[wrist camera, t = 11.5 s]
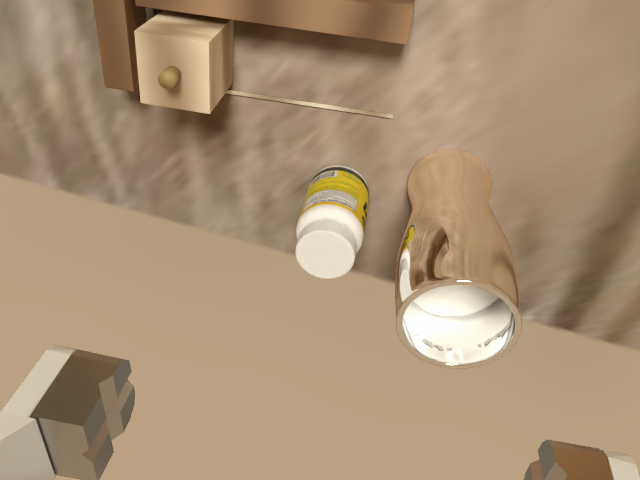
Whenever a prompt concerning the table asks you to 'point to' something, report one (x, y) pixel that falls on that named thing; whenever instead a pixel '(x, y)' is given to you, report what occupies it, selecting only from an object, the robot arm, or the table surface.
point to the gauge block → (185, 60)
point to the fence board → (251, 6)
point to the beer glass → (455, 267)
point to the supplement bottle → (332, 222)
